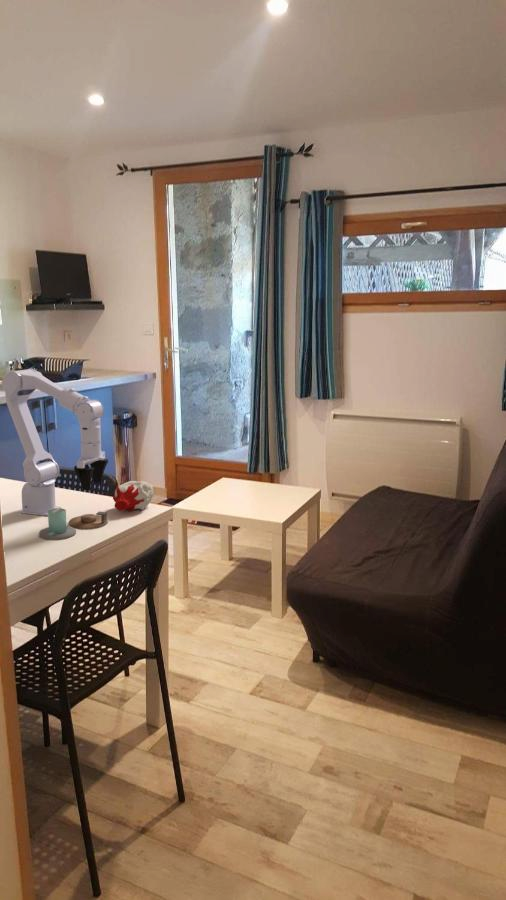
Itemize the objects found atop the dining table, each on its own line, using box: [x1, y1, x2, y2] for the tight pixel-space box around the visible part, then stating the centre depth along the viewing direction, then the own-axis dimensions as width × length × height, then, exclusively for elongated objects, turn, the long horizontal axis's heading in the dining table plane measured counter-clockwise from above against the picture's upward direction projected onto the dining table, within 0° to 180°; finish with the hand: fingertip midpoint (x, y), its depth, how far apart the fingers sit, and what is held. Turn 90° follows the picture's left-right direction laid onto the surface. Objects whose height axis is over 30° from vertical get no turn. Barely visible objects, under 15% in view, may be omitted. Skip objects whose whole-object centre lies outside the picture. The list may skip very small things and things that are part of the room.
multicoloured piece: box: [112, 480, 155, 512], centre depth 205 cm, size 9×11×15 cm
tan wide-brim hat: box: [68, 511, 109, 530], centre depth 193 cm, size 11×11×4 cm
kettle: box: [47, 507, 67, 536], centre depth 182 cm, size 6×5×6 cm
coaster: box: [38, 525, 77, 541], centre depth 184 cm, size 10×10×1 cm
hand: (92, 486), depth 194 cm, fingers open, 7 cm apart
